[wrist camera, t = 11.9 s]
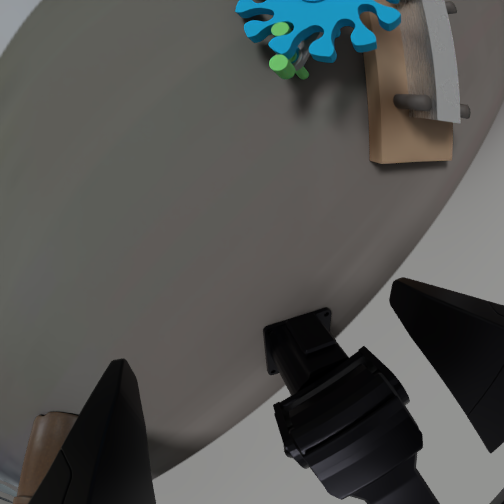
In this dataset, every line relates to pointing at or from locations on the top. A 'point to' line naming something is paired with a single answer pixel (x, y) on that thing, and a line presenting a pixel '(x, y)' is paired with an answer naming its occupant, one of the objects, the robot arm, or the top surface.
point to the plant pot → (42, 451)
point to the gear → (312, 29)
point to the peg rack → (400, 103)
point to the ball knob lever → (430, 57)
